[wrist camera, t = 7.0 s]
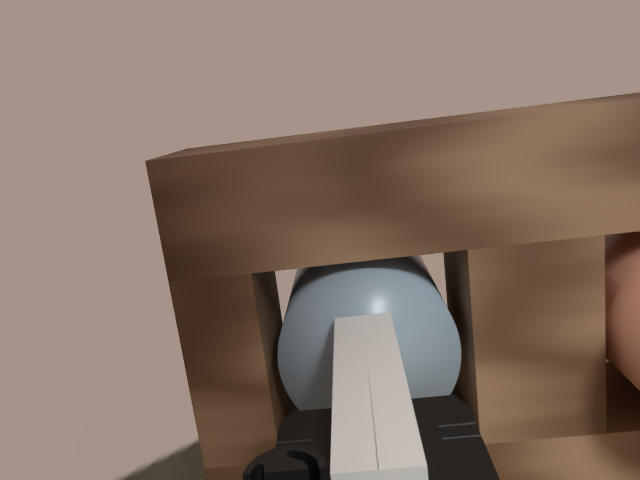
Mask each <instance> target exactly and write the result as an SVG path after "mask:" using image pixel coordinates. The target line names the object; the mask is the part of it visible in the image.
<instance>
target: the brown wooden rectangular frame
mask: <svg viewBox="0 0 640 480" xmlns="http://www.w3.org/2000/svg"><path fill="white" fill-rule="evenodd" d="M145 162H146V167H147V172H148V178H149V183H150V188H151V193H152V198H153V203H154V209H155V214H156V219H157V224H158V229H159V235H160V239H161V245H162V250H163V255H164V260H165V266H166V271H167V276H168V281H169V286H170V292H171V297H172V302H173V307H174V312H175V317H176V323H177V328H178V332H179V338H180V343H181V348H182V353H183V359H184V364H185V369H186V374H187V380H188V385H189V390H190V395H191V400H192V405H193V411H194V416H195V420H196V426H197V431H198V437H199V442H200V447H201V452H202V457H203V462H204V468H205V473H206V478H207V480H243V476H242V474H243V472H244V471H245V469H246V467H247V465H248V464H249V463H250V462H251V461H253V460H254V459H255V458H256V457H257V456H259V455H261V454H263V453H265V452H267V451H269V450H272V449H275V446H276V444H277V436H278V430H279V425H280V424H281V423H282V422H283V421H284V420H285V418H286V417H287V416H288V415H289V414H290V413H291V412H292V411H300V410H299V409H298V408H297V407H296V405H295V404H294V403H293V401H292V400H291V398H290V397H289V395H288V393H287V391H286V389H285V388H284V385H283V382H282V380H281V377H280V372H279V368H278V357H277V354H278V343H279V338H280V333H281V329H282V325H283V324H282V317H281V311H280V304H279V297H278V290H277V284H276V276H275V271H277V270H287V269H296V268H305V267H315V266H324V265H333V264H342V263H351V262H360V261H370V260H379V259H388V258H397V257H406V256H416V255H425V254H434V253H443V252H444V265H445V279H446V292H447V305H448V310H449V312H450V314H451V316H452V318H453V320H454V323H455V325H456V327H457V330H458V334H459V337H460V344H461V365H460V372H459V375H458V379H457V382H456V384H455V386H454V389H453V391H452V393H451V394H450V395H455V396H456V397H457V398H459V399H460V400H461V401H463V402H464V403H465V404H467V405H468V406H469V408H470V410H471V412H472V415H473V417H474V420H475V423H476V424H477V427H478V429H479V431H480V435H481V436H482V438H483V441H484V443H485V446H486V448H487V450H488V453H489V455H490V457H491V460H492V462H493V464H494V467H495V469H496V471H497V474H498V476H499V479H500V480H640V390H639V389H638V388H636V387H635V386H634V385H633V384H632V383H631V382H630V381H629V380H628V379H627V378H626V377H625V376H624V375H623V374H622V373H621V372H620V371H619V370H618V369H617V368H616V367H615V366H614V365H613V364H612V363H611V362H606V336H605V235H609V234H618V233H627V232H636V231H640V93H632V94H625V95H616V96H608V97H600V98H593V99H585V100H576V101H568V102H560V103H552V104H544V105H537V106H528V107H519V108H511V109H503V110H495V111H487V112H479V113H471V114H463V115H455V116H447V117H439V118H431V119H423V120H414V121H407V122H398V123H390V124H382V125H374V126H366V127H359V128H351V129H342V130H335V131H326V132H318V133H310V134H302V135H294V136H286V137H278V138H270V139H261V140H253V141H246V142H238V143H229V144H221V145H213V146H205V147H197V148H189V149H185V150H181V151H178V152H174V153H171V154H168V155H164V156H161V157H157V158H154V159H151V160H147V161H145Z"/></svg>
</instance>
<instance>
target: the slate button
mask: <svg viewBox="0 0 640 480" xmlns="http://www.w3.org/2000/svg"><path fill="white" fill-rule="evenodd" d="M389 312H391V316H392V320H393V325H394V329H395V333H396V337H397V341H398V346H399V350H400V354H401V358H402V362H403V367H404V371H405V375H406V379H407V383H408V388H409V392H410V396H411V399H413V398H423V397H434V396H445V395H450V394H451V393H452V391H453V389H454V386H455V384H456V382H457V379H458V375H459V372H460V365H461V344H460V337H459V334H458V330H457V327H456V325H455V323H454V320H453V318H452V316H451V314H450V312H449V310H448V308H447V306H446V304H445V302H444V301H443V299H442V297H441V295H440V293H439V291H438V289H437V287H436V285H435V283H434V281H433V279H432V277H431V276H430V274H429V272H428V270H427V268H426V266H425V264H424V262H423V260H422V258H421V256H420V255H416V256H406V257H397V258H388V259H379V260H370V261H360V262H351V263H342V264H333V265H324V266H315V267H305V268H298V270H297V273H296V277H295V280H294V284H293V288H292V292H291V296H290V299H289V303H288V307H287V310H286V314H285V318H284V322H283V325H282V329H281V333H280V338H279V343H278V354H277V357H278V368H279V372H280V377H281V380H282V382H283V385H284V388H285V389H286V391H287V393H288V395H289V397H290V398H291V400H292V401H293V403H294V404H295V405H296V407H297V408H298V409H299V410H300V411H302V410H313V409H324V408H332V390H333V356H334V321H335V318H340V317H350V316H360V315H370V314H379V313H389Z"/></svg>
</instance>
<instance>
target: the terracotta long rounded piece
mask: <svg viewBox="0 0 640 480" xmlns="http://www.w3.org/2000/svg"><path fill="white" fill-rule="evenodd" d="M605 336H606V359H607V360H608V361H609V362H611V363H612V364H613V365H614V366H615V367H616V368H617V369H618V370H619V371H620V372H621V373H622V374H623V375H624V376H625V377H626V378H627V379H628V380H629V381H630V382H631V383H632V384H633V385H634V386H635V387H636V388H638V389H639V390H640V231H636V232H627V233H618V234H609V235H605Z"/></svg>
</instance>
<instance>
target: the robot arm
mask: <svg viewBox="0 0 640 480" xmlns="http://www.w3.org/2000/svg"><path fill="white" fill-rule="evenodd" d="M242 476H243V480H500V479H499V476H498V474H497V471H496V469H495V467H494V464H493V462H492V460H491V457H490V455H489V453H488V450H487V448H486V446H485V443H484V441H483V438H482V436H481V435H480V431H479V429H478V427H477V424H476V423H475V420H474V417H473V415H472V412H471V410H470V408H469V406H468V405H467V404H465V403H464V402H463V401H461V400H460V399H459V398H457V397H456V396H455V395H445V396H434V397H423V398H413V399H411V396H410V392H409V388H408V383H407V379H406V375H405V371H404V367H403V362H402V358H401V354H400V350H399V346H398V341H397V337H396V333H395V329H394V325H393V320H392V316H391V312H389V313H379V314H370V315H360V316H350V317H340V318H335V321H334V356H333V390H332V408H324V409H313V410H302V411H292V412H291V413H290V414H289V415H288V416H287V417H286V418H285V420H284V421H283V422H282V423H281V424H280V425H279V430H278V436H277V444H276V446H275V449H272V450H269V451H267V452H265V453H263V454H261V455H259V456H257V457H256V458H255V459H254V460H253V461H251V462H250V463H249V464H248V465H247V467H246V469H245V471H244V472H243V474H242Z"/></svg>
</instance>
